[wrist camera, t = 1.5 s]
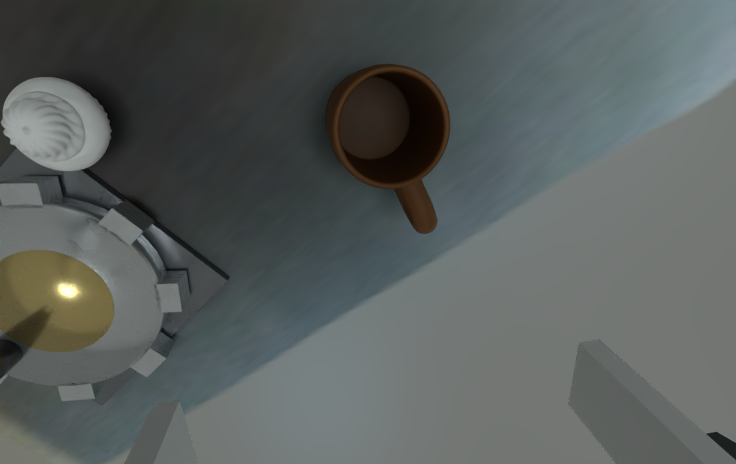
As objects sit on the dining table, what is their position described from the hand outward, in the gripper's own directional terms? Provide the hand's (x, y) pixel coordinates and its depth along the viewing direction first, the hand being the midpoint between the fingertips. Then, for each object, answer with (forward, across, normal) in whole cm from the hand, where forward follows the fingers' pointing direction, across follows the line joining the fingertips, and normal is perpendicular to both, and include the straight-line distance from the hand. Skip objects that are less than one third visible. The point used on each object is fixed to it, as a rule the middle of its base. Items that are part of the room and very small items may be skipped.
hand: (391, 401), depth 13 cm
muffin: (+24, -19, +8) cm, 31 cm away
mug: (+24, +4, +5) cm, 24 cm away
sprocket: (+22, -23, -5) cm, 32 cm away
